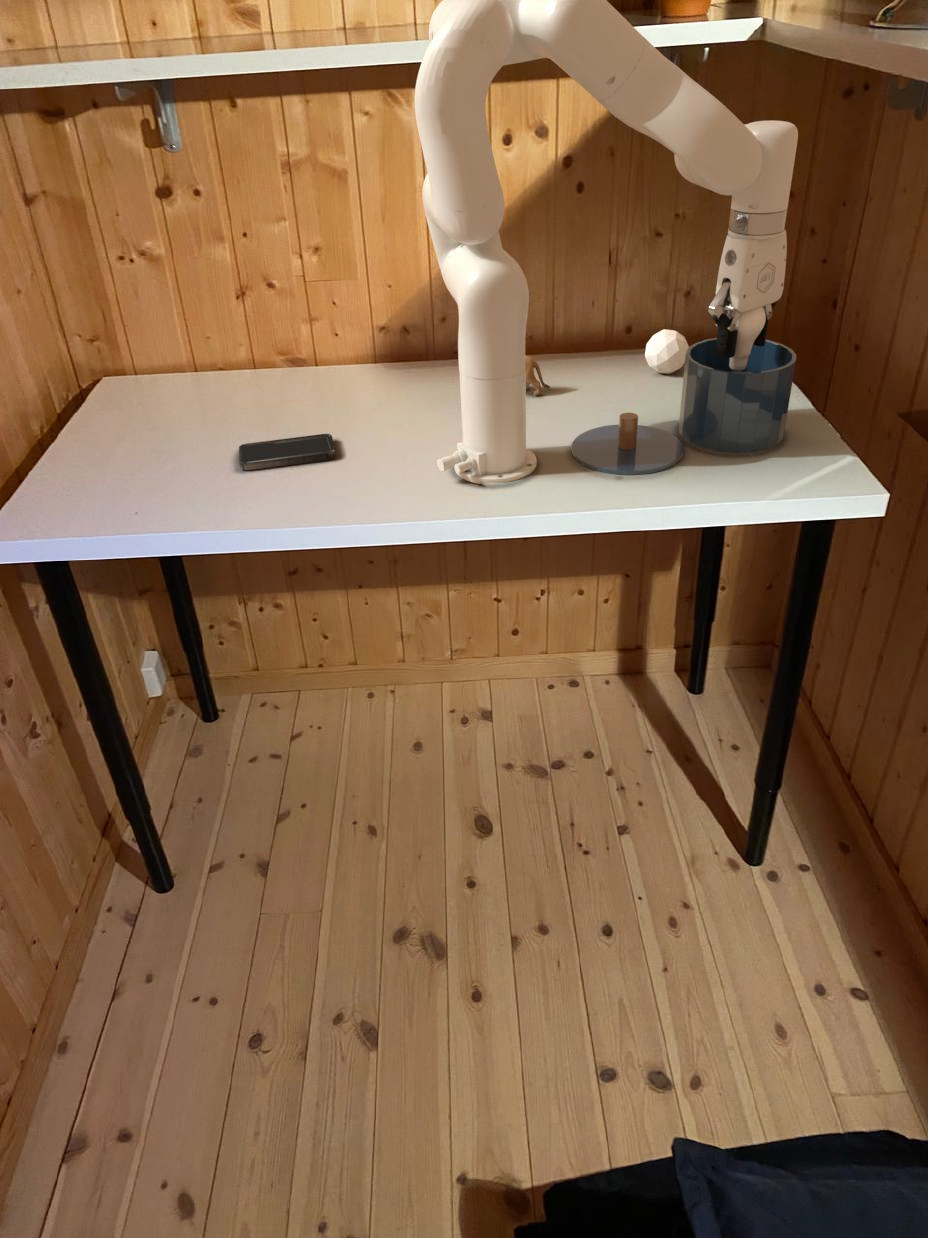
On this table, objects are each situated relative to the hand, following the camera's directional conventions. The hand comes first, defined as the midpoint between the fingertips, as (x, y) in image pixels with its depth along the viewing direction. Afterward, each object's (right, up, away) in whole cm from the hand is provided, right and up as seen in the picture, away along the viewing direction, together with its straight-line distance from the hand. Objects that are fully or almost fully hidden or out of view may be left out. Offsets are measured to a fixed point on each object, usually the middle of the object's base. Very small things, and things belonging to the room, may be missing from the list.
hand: (740, 348), depth 138 cm
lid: (-16, -15, +4) cm, 22 cm away
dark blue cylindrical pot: (+1, -11, +8) cm, 14 cm away
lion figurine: (-34, 0, +27) cm, 43 cm away
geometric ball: (-4, +5, +32) cm, 32 cm away
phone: (-70, -14, +10) cm, 72 cm away
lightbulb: (0, -3, +2) cm, 4 cm away
